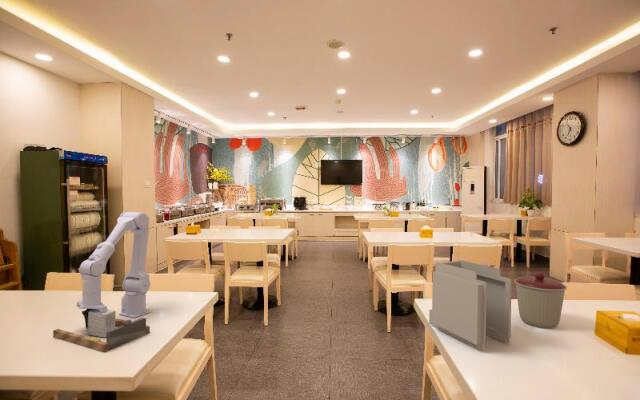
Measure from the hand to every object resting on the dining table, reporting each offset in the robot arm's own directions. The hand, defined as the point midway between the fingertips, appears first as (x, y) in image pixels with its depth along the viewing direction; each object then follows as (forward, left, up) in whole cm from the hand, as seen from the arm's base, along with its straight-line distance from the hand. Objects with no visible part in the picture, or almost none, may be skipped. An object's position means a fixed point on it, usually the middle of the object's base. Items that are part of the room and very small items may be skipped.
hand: (91, 328), depth 124 cm
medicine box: (+5, 0, -2) cm, 5 cm away
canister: (+156, +82, -2) cm, 176 cm away
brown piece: (+6, +1, -2) cm, 6 cm away
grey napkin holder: (+129, +57, -2) cm, 140 cm away
